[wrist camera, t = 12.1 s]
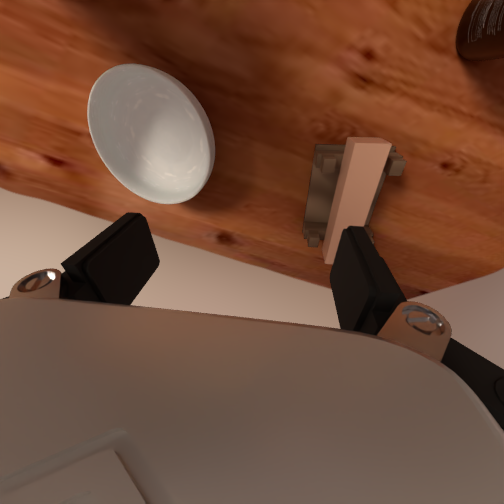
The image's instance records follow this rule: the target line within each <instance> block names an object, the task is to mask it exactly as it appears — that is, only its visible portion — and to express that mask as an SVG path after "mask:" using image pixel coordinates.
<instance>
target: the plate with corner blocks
mask: <svg viewBox="0 0 504 504" xmlns="http://www.w3.org/2000/svg"><path fill="white" fill-rule="evenodd" d="M345 146H346V145H336V144H316V146H315V153H314V159H313V165H312V172H311V178H310V185H309V191H308V198H307V204H306V210H305V217H304V223H303V230H302V232H303V234H304V239H307V241H308V247H318V243H319V240H324V238H325V234H326V229H327V225H328V220H329V216H330V212H331V207H332V203H333V199H334V194H335V190H336V186H337V181H338V177H339V172H340V168H341V164H342V159H343V155H344V151H345ZM395 148H396V147H395V146H391V148H390V151H389V154H388V157H387V160H386V163H385V166H384V169H383V171H382V174H381V177H380V180H379V183H378V186H377V189H376V192H375V195H374V198H373V201H372V204H371V206H370V209H369V212H368V215H367V218H366V221H365V224H364V229H365V230H366V232H367V234H368V236H369V238H370V239H371V241H372V243H373V245H374V240H373V238H372V237H373V232H372V231H371V229H370V227H369V226H368V224H369V221H370V218H371V216H372V213H373V210H374V207H375V204H376V202H377V199H378V196H379V193H380V190H381V188H382V185H383V182H384V179H385V176H386V174H387V175H388V176H401V174H402V172H403V169H404V167H405V164H406V162H407V161H405V160H404V159H402V158H403V156H401V155H399V154H398V153H396V152H394V151H395Z"/></svg>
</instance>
